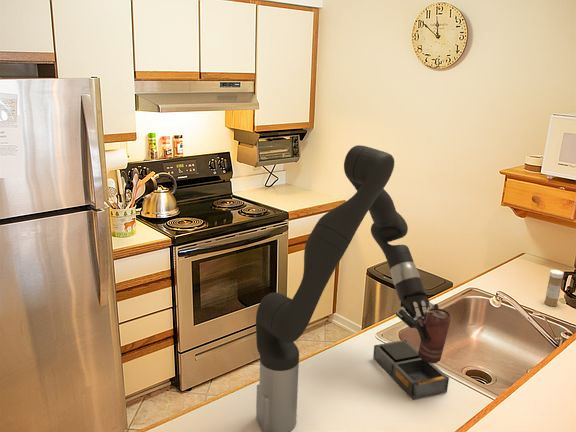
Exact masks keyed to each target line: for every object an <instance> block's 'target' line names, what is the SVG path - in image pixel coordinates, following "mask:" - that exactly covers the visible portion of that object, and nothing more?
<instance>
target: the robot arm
mask: <svg viewBox="0 0 576 432" xmlns="http://www.w3.org/2000/svg"><path fill="white" fill-rule="evenodd" d="M394 168H395V158H394V157H393V155H392V154H391V153H389V152H387V151H386V152H385V151H383V150H379V149H376V148H373V147H369V146H366V145H360V144H359V145H358V144H357V145H354V146H353V147H352V148H350V149H349V150H348V152H347V153H346V155H345V158H344V161H343V171H344V174H345V177H346V178H347V179H348V180H349V182H350V183H351V185H352V186H353V187H354V189H355V191H356V192H355V193H354V195H353V196H351V197H350V198H349V199H348V200H346V201H344V202H342V203H341V204H339V205H338V206H336V207H334V208H333V209H330V210H329V211H328V212H327V213H325V214H324V215H322V216H321V217H320V218H319V219H318V221H317V222H316V224H315V225H314V227H313V229H312V231H311V232H310V234H309V235H308V238H307V239H306V242H305V245H304V249H303V250H304V251H303V253H304V254H303V273H302V279H301V280H300V281H301V282H300V285H299V286H298V288H297V290H296V292H295V294H294V295H293V297H292V298H290V297H289V296H286V295H284V294H283V293H280V292H269V293H268V294H267V295H265V296H264V297H263V298H262V299H261V301H260V302H259V305H258V306H257V310H256V315H255V330H256V332H255V337H256V348H257V352H258V354H259V382H258V383H259V384H257V385H256V402H255V403H256V405H255V406H256V408H255V410H256V412H255V413H256V414H255V418H256V421H257V422H258V425H259V427H260V429H261V431H262V432H291V431H293V430H294V429H295V427H296V424H297V415H298V388H299V368H300V367H299V366H300V364H299V363H300V350H299V348H298V346H297V344H295V342H296V341H297V340H299V338H300V337H301V336H302V335H303V334H304V332H305V330H307V328H308V326H309V323H310V322H311V319H312V317H313V315H314V312H315V310H316V308H317V305H319V301H320V299H321V297H322V296H323V293H324V291H325V288H326V287H327V284H328V283H329V281H330V279H331V277H332V275H333V273H334V271H335V270H336V268H337V266H338V265H339V262H340V261H341V259H342V258H343V257H344V255H345V253H346V251H347V249H348V248H349V245H350V244H351V242H352V241H353V239H354V236H355V234H356V232H357V230H359V227H360V226H361V224H362V223H363V221H364V218H365V217H366V215H367V213H368V212H369V214H370V215H369V216H370V217H371V219H372V221H373V223H372V224H371V226H370V234H371V236H372V238H373V240H374V241H375V242H376V244H378V246H379V247H380V250H382V253H383V254H384V255H383V256H384V257H385V259H386V262H387V264H388V267H389V271H390V274H391V279H392V283H393V285H394V289H395V292H396V294H397V297H398V300H399V301H400V309H399V310H398V311H396V313H395V316H396V317H398V318H399V319H400V321H402V322H403V323H405V324H406V326H408V327H409V328H410V329H416V330H417V332H418V336H419V337H420V341H421V340H422V341H423V342H424V343H426V342H428V341H431V338H430V337H429V336H428V333H427V331H426V328H425V319H426V315H427V313H428V311H429V310H430V309H432V308H439V305H438V304H437V303H435V304H434V303H432V302H430V299H428V297H427V296H426V289H425V287H424V284H423V281H422V278H421V276H420V273H419V271H418V267H416V264H415V262H414V259H413V256H412V254H411V251H410V248H409V246H408V245H406V244H389V243H391V242H393V241H396V240H400V239H402V238H404V237H406V235H407V234H408V232H409V231H408V230H409V227H408V224H407V223H408V222H407V221H406V220H405V219H404V217H403V216H402V215H401V214H400V213H399V212H398V211H397V210H396V206H395V204H394V201H393V198H392V197H391V196H390V194H389V193H388V192H387V190H386V189H384V188H385V187H386V185H387V183H388V182H389V181H390V178H391V176H392V174H393V171H394Z"/></svg>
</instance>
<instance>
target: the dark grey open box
mask: <svg viewBox="0 0 576 432" xmlns="http://www.w3.org/2000/svg"><path fill="white" fill-rule="evenodd" d="M418 351H419V349H417V348H416V347H415V346H413V345H412V344H411V343H410V342H409V341H408V340H407V339H403V340H397V341H391V342H385V343H380V344H374V345H373V357H372V359H373V360H374V361H375V362H376V363H377V364H378V365H379V366H380V368H382V370H383V371H384V372H385V373H386V374H387V375H388V377H390V378H391V379H392V380H393V381H394V382H395V383H396V384H397V386H399V388H401V389H402V391H404V393H405V394H406V395H407V396H408V397H409V398H410V399H411V400H412V401H414V400H420V399H423V398H429V397H432V396H436V395H440V394H441V395H442V394H445V393H448V387H449V381H450V377H449V376H448V375H447V374H446V373H444V372H443V371H442V370H441V369H439V368H438V367H437V366H436V365H435V363H428V362H425V361H423V360H422V359H421V358H420V357H419V355H418Z"/></svg>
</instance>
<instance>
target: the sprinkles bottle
mask: <svg viewBox="0 0 576 432" xmlns="http://www.w3.org/2000/svg"><path fill="white" fill-rule="evenodd" d="M563 278H564V272H563V271H562V270H559V269H550V271H549V277H548V283H547V284H548V285H547V288H546V292H545V299H544V304H545V305H547V306H549V307H557V306H558V302H559V298H560V297H559V296H560V292H561V287H562V283H563V282H562V280H563Z"/></svg>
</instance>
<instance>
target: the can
mask: <svg viewBox="0 0 576 432" xmlns="http://www.w3.org/2000/svg"><path fill="white" fill-rule="evenodd" d="M451 321H452V320H451V315H450V313H449V312H448V311H447V310H445V309H442V308H439V307H438V308H432V309H430V310H429V311H428V310H427V315H426V319H425V328H426V331H427V333H428V336H429V337H430V338H431V341H428V342H426V343H424V342H423V341H422V340H421V339H420V343H419V347H418V355H419V357H420V358H421V359H422V360H423V361H425V362H428V363H433V364H437V363H439V362H440V361H441V359H442V355H443V351H444V348H445V345H446V339H447V337H448V336H447V335H448V332H449V329H450V324H451Z"/></svg>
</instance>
